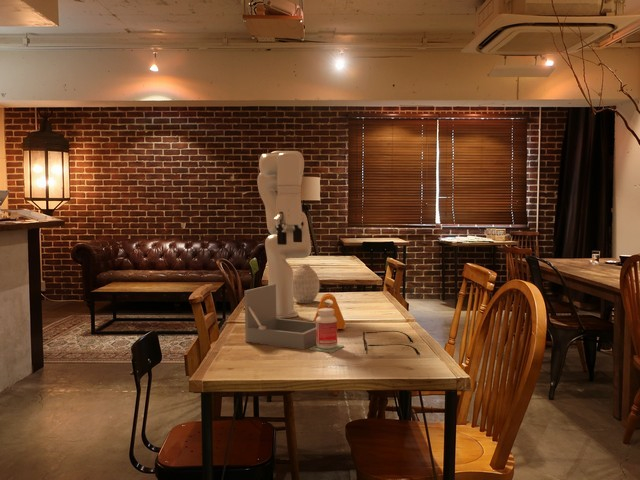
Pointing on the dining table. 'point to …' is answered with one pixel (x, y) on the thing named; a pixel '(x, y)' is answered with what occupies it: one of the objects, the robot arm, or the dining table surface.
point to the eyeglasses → (388, 344)
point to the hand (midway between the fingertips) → (290, 243)
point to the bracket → (334, 306)
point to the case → (274, 322)
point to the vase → (305, 284)
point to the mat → (327, 349)
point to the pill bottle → (326, 329)
